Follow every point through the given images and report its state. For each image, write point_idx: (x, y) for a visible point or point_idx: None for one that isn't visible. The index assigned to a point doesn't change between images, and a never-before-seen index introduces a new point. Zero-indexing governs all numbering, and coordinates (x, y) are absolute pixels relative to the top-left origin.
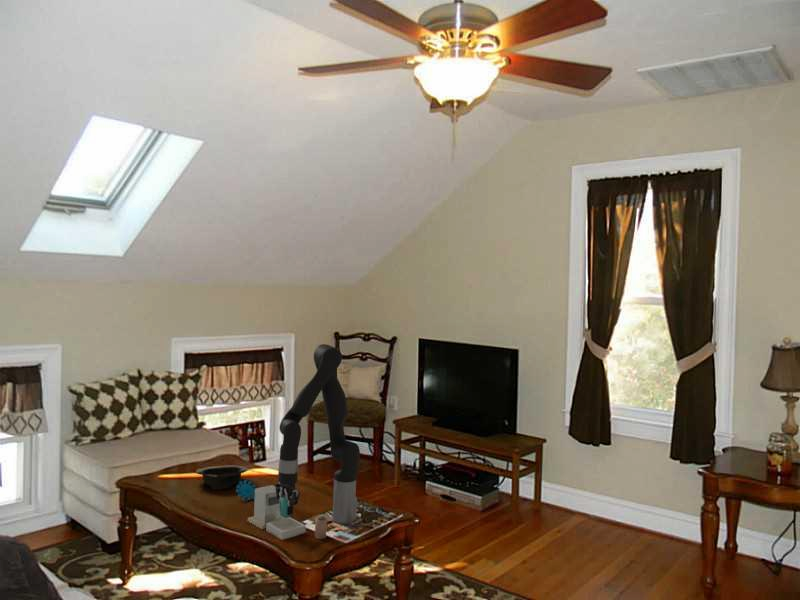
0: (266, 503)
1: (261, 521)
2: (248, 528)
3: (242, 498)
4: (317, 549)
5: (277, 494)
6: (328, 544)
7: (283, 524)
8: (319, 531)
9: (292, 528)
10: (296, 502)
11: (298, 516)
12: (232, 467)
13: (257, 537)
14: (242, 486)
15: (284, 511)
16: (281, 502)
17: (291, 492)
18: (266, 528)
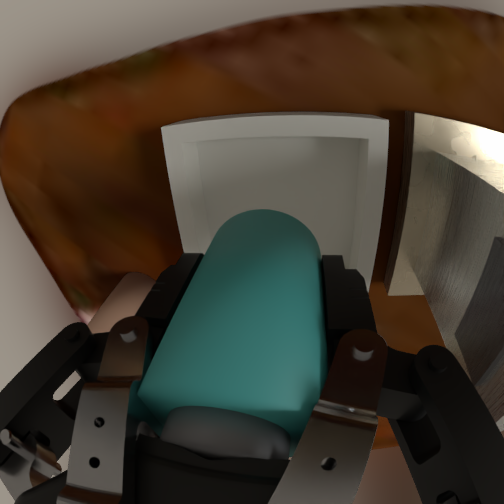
0: None
1: (468, 157)
2: (464, 69)
3: None
4: (47, 214)
5: (453, 409)
6: (74, 268)
7: (352, 239)
8: (108, 297)
9: (185, 218)
10: (80, 383)
11: (395, 346)
12: None
13: (307, 14)
14: None
15: (210, 251)
16: (244, 319)
17: (47, 482)
18: (373, 115)
